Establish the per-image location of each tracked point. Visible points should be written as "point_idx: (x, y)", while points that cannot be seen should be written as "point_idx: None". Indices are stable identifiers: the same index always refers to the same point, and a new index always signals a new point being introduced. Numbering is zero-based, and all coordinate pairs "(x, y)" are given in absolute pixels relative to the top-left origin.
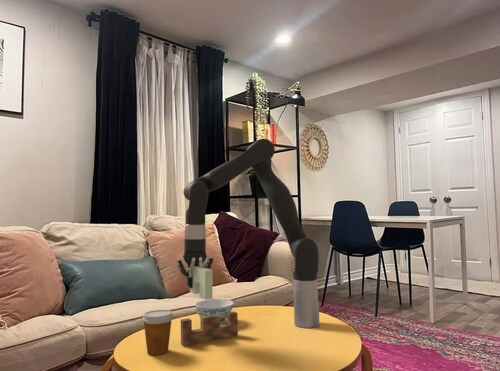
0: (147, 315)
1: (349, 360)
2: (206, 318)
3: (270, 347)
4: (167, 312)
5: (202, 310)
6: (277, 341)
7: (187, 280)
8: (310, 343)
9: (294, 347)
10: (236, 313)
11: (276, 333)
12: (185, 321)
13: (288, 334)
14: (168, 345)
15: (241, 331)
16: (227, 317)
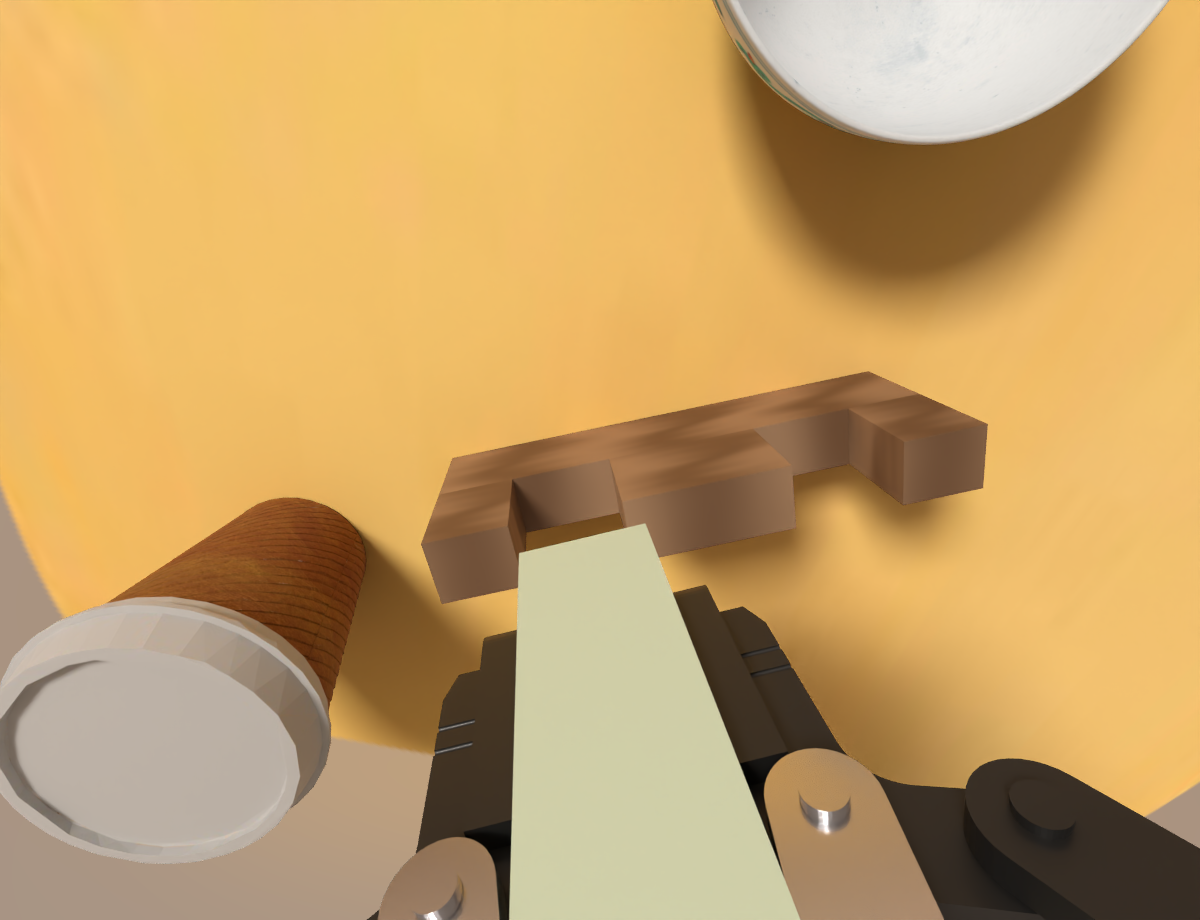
0: (43, 770)
1: None
2: (666, 550)
3: (937, 650)
4: (253, 719)
5: (734, 33)
6: (1024, 581)
7: (437, 803)
8: (1141, 650)
9: (1038, 677)
10: (969, 488)
11: (1114, 448)
12: (466, 595)
13: (1159, 490)
14: (359, 588)
15: (941, 321)
16: (879, 439)
